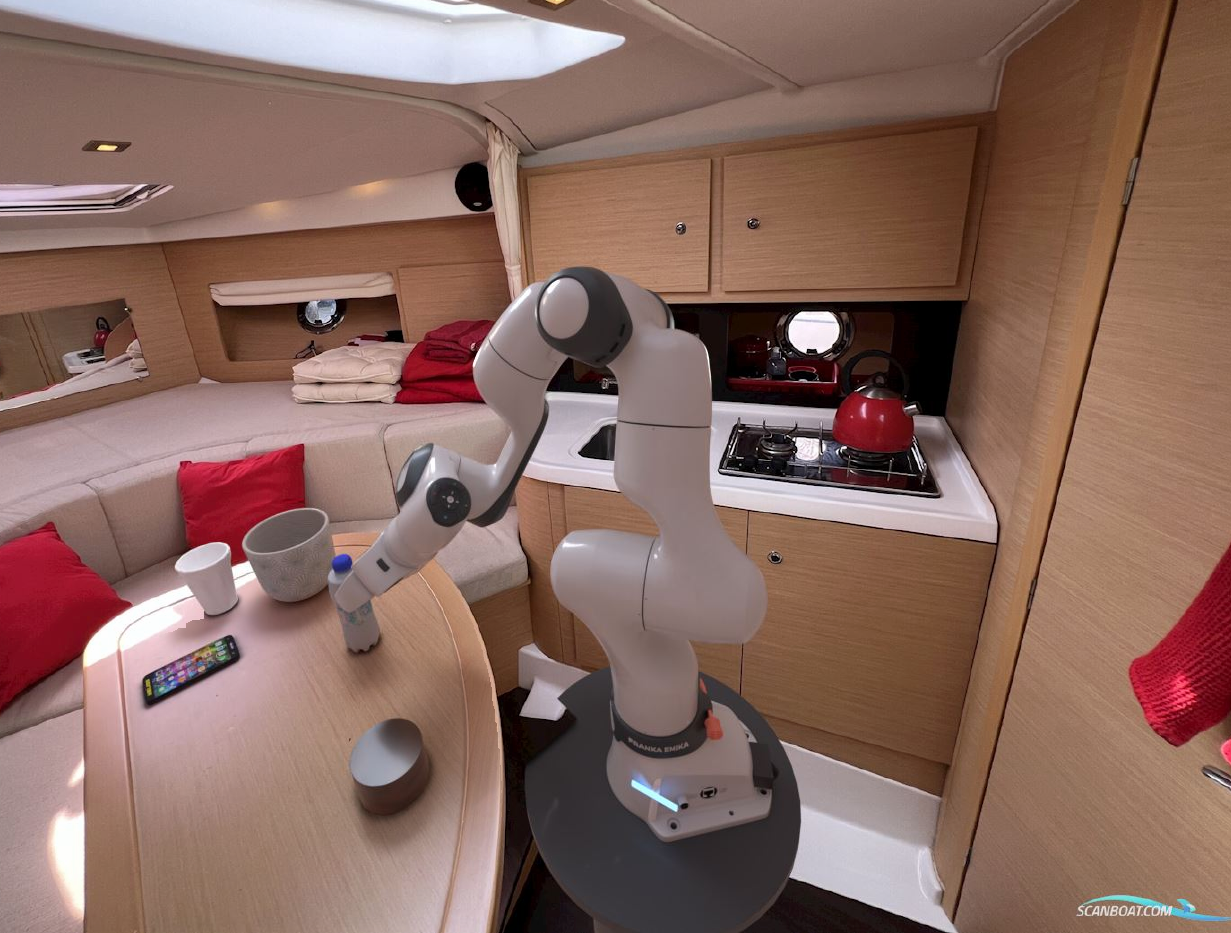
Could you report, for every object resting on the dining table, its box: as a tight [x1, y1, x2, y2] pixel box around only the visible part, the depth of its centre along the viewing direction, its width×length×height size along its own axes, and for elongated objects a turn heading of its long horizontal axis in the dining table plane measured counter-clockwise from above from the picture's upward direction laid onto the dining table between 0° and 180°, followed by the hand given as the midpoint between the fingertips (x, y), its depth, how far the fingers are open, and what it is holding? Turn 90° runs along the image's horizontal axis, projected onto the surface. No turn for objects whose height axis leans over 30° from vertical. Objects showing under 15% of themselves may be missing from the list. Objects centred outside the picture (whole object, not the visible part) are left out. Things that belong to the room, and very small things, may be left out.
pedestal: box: [349, 717, 430, 816], centre depth 77 cm, size 10×10×6 cm
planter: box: [241, 507, 337, 603], centre depth 117 cm, size 17×17×15 cm
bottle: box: [327, 553, 381, 653], centre depth 100 cm, size 7×7×20 cm
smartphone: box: [141, 634, 241, 705], centre depth 100 cm, size 8×1×15 cm
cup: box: [174, 541, 239, 616], centre depth 114 cm, size 10×10×13 cm
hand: (375, 578), depth 95 cm, fingers open, 8 cm apart
